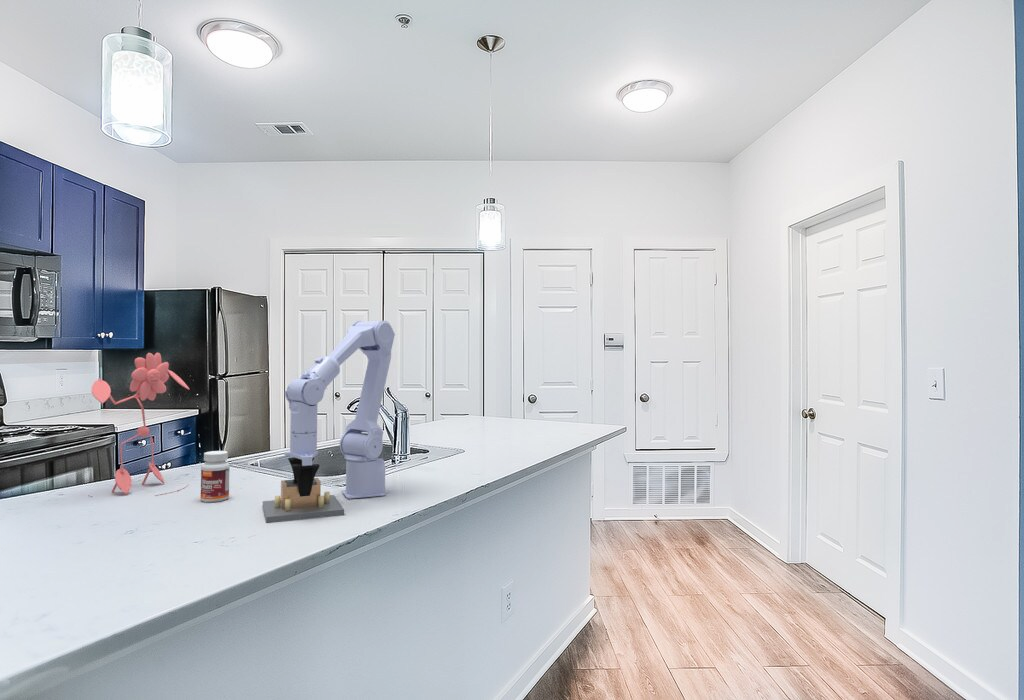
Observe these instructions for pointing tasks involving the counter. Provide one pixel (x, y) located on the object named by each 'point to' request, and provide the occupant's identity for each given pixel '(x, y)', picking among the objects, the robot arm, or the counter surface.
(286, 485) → the tan wooden block
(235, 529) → the counter surface
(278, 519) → the grey peg board
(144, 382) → the figurine
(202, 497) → the pill bottle
